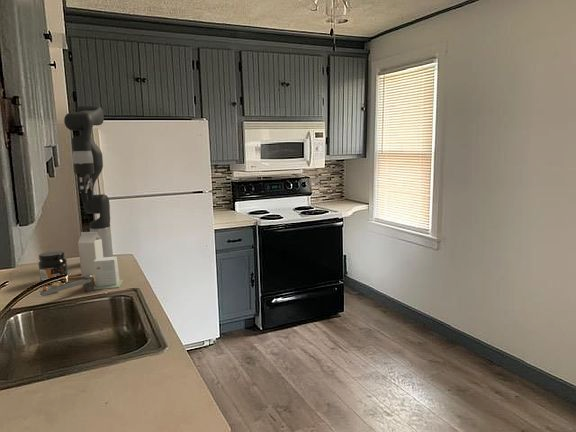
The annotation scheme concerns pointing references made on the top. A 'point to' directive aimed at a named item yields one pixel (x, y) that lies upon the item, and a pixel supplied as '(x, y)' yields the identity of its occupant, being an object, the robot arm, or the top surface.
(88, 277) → the lever
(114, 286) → the pad
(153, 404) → the top surface
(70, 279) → the cradle
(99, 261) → the small box
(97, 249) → the milk carton
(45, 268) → the supplement container
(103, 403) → the top surface
